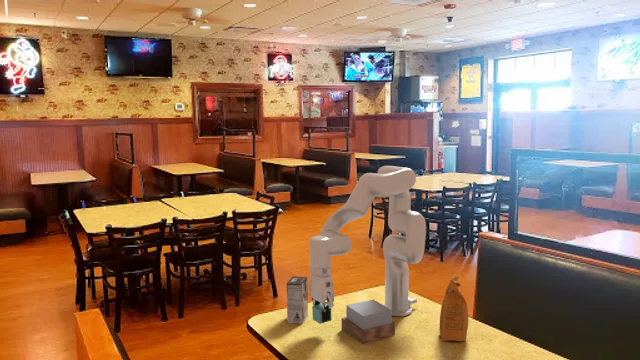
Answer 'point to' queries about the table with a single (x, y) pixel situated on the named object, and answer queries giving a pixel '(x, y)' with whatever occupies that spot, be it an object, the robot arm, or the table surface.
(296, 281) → the coffee box
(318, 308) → the teal block
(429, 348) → the table surface
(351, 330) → the tower base
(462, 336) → the coffee package
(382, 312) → the tower top
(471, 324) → the table surface
